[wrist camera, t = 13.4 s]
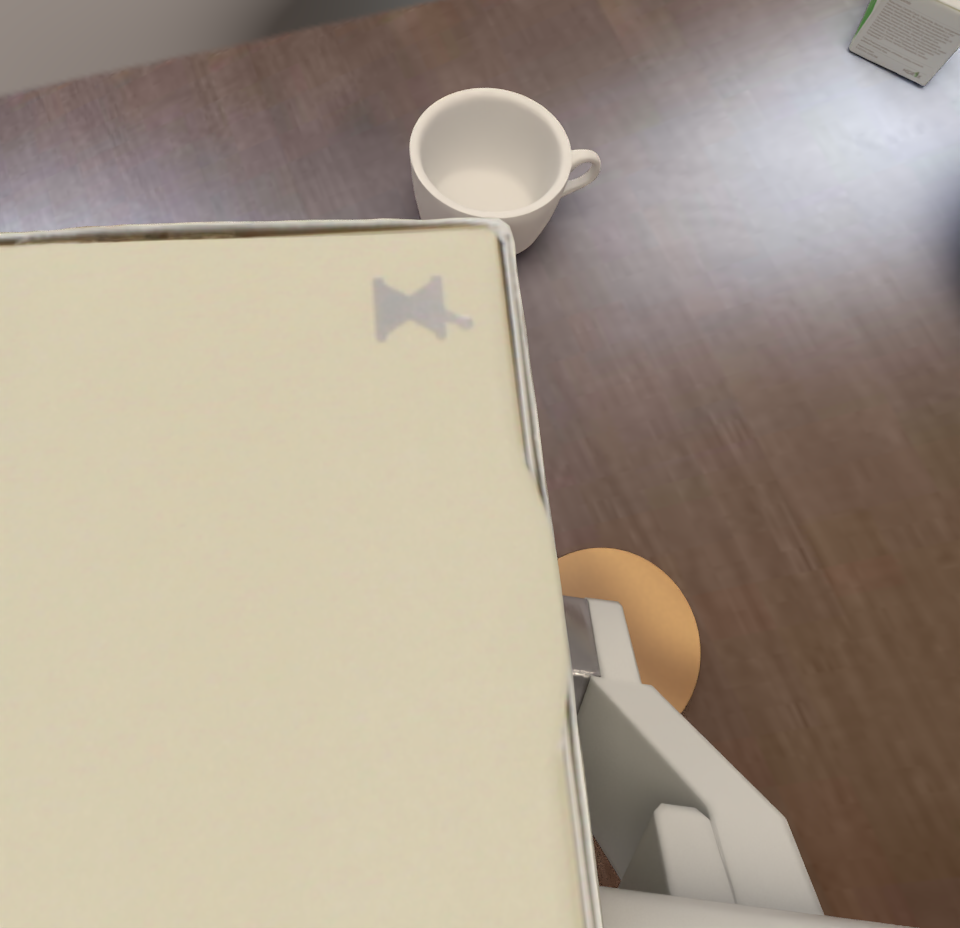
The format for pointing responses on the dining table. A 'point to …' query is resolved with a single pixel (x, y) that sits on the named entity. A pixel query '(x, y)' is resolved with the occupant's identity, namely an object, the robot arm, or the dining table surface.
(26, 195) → the dining table surface
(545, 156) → the teacup
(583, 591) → the cork coaster
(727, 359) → the dining table surface
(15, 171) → the dining table surface
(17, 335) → the cosmetic box
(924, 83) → the small box
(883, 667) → the dining table surface
